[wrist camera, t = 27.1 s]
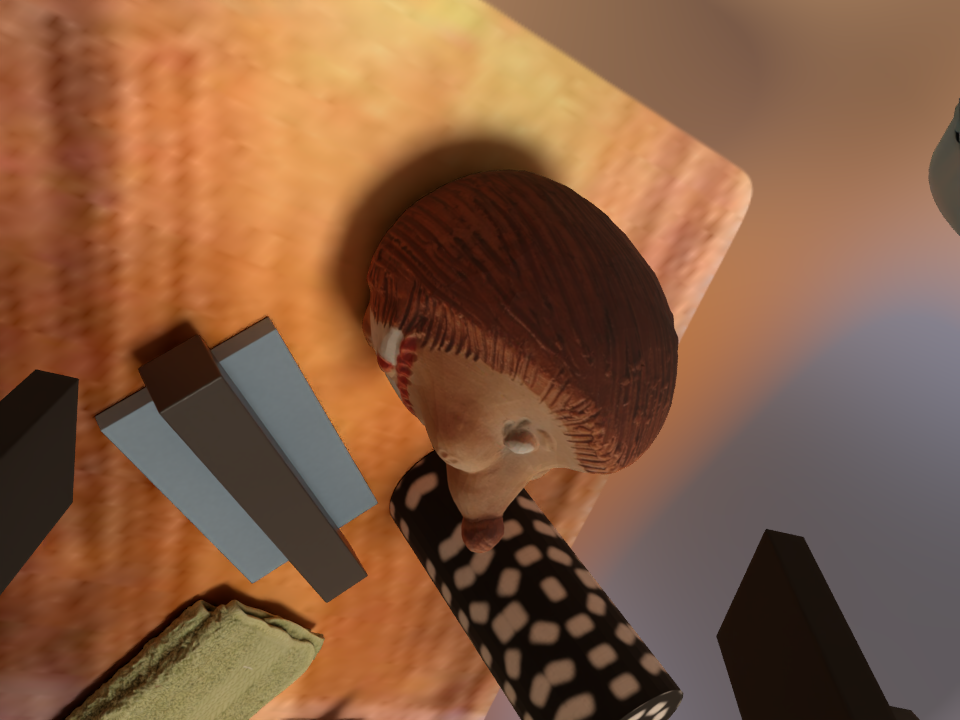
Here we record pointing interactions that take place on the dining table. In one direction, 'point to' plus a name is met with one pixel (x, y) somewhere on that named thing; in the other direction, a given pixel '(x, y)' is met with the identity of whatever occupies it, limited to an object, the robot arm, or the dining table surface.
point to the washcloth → (207, 667)
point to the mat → (290, 420)
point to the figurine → (520, 337)
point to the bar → (250, 464)
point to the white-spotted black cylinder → (532, 610)
